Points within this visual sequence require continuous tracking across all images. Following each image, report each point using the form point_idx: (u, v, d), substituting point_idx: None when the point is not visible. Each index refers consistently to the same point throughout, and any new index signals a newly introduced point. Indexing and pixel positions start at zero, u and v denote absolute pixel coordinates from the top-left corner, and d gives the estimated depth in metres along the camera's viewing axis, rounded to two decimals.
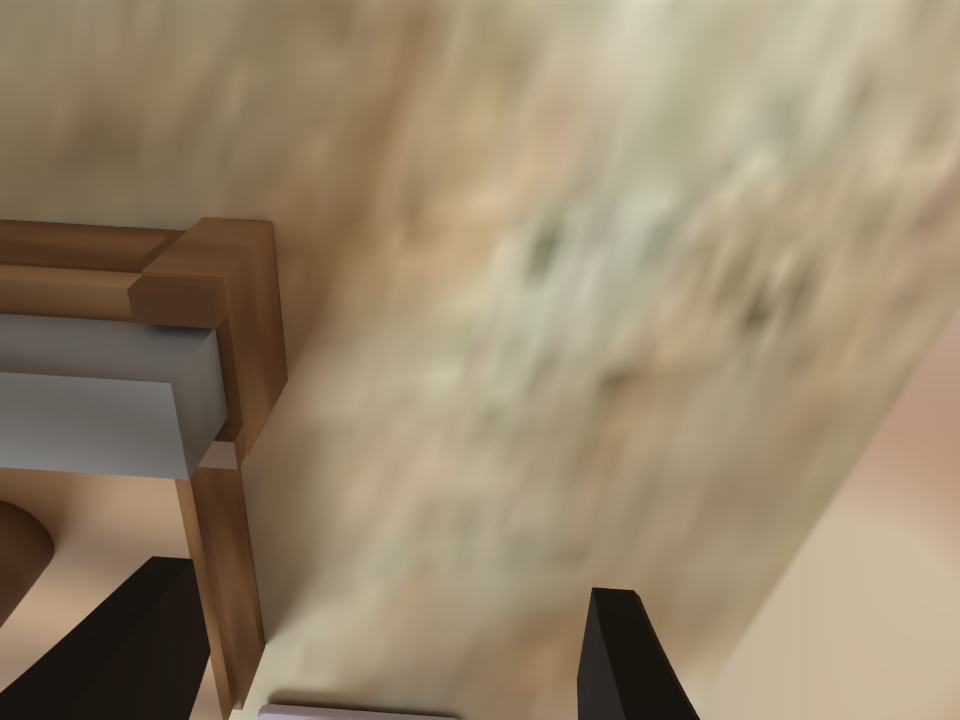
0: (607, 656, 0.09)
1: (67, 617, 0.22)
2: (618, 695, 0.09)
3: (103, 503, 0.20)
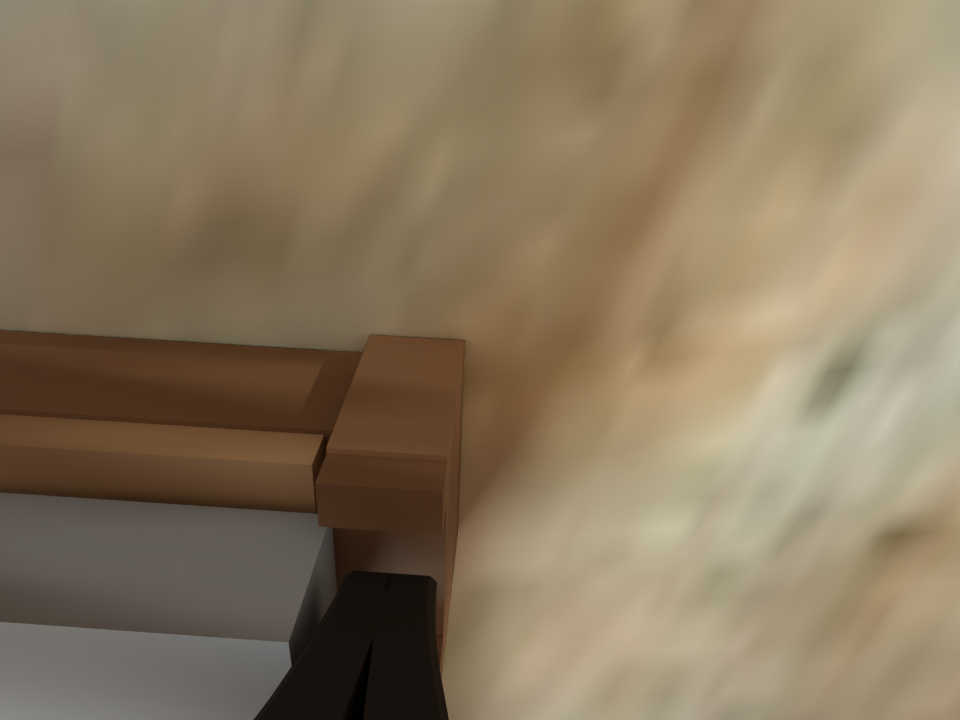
0: (373, 639, 0.09)
1: None
2: (368, 676, 0.09)
3: None
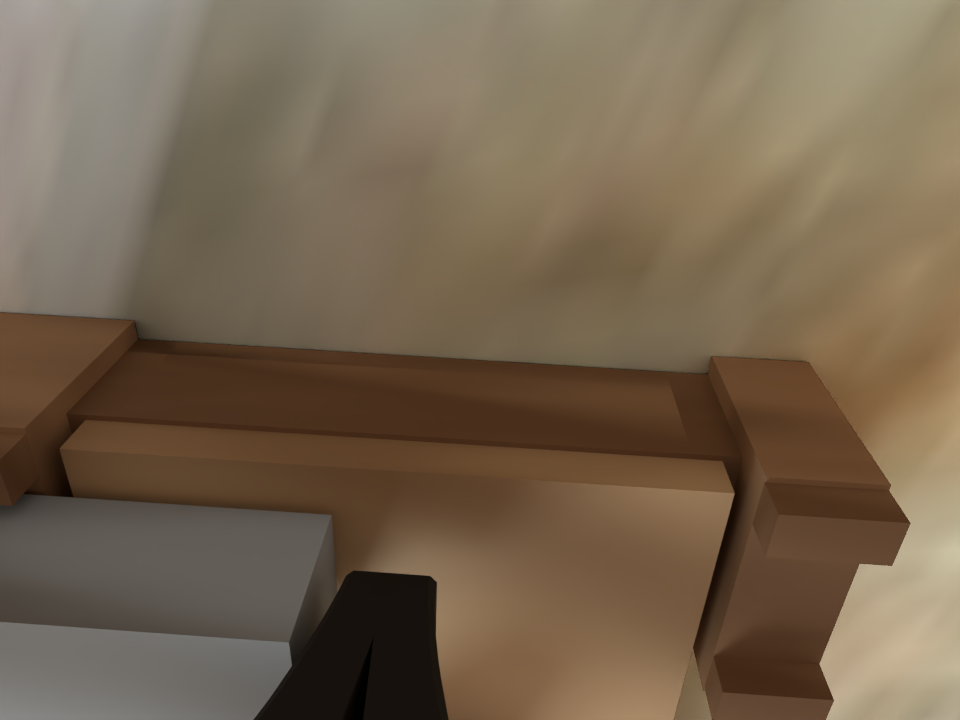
0: (372, 639, 0.09)
1: None
2: (368, 676, 0.09)
3: None
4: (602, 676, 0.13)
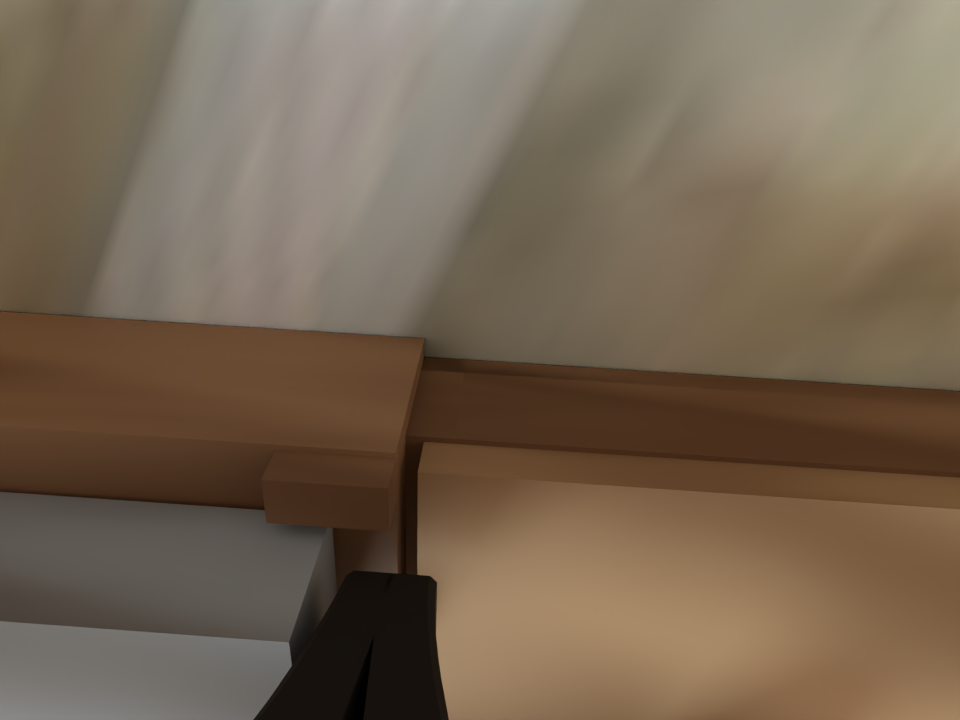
0: (373, 639, 0.09)
1: None
2: (368, 676, 0.09)
3: None
4: (912, 699, 0.13)
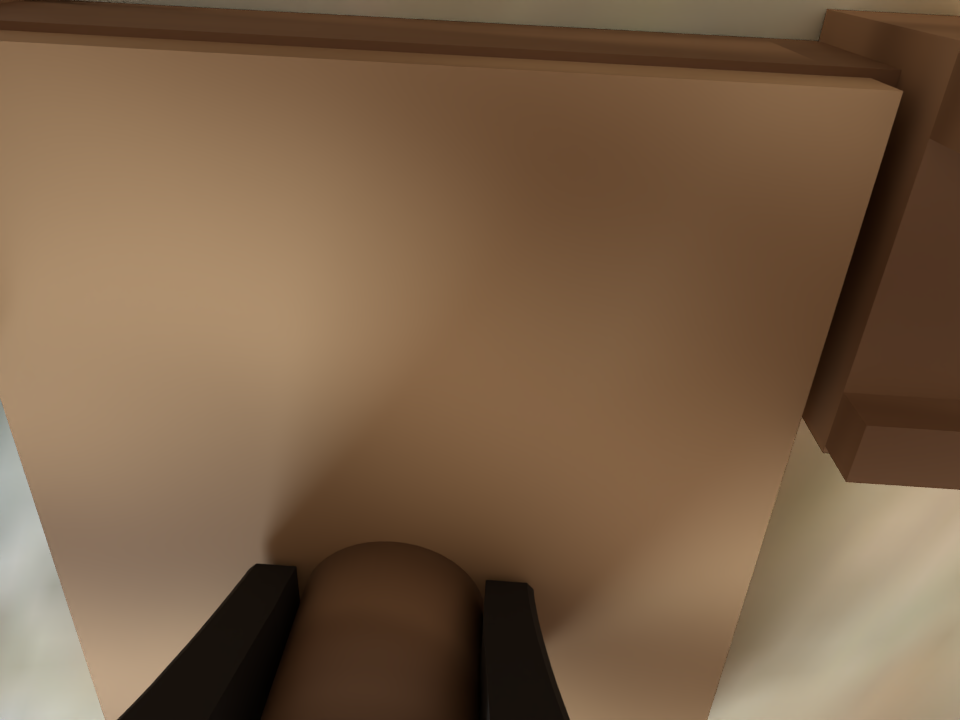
0: (484, 647, 0.09)
1: None
2: (487, 685, 0.09)
3: (612, 551, 0.11)
4: (678, 439, 0.10)
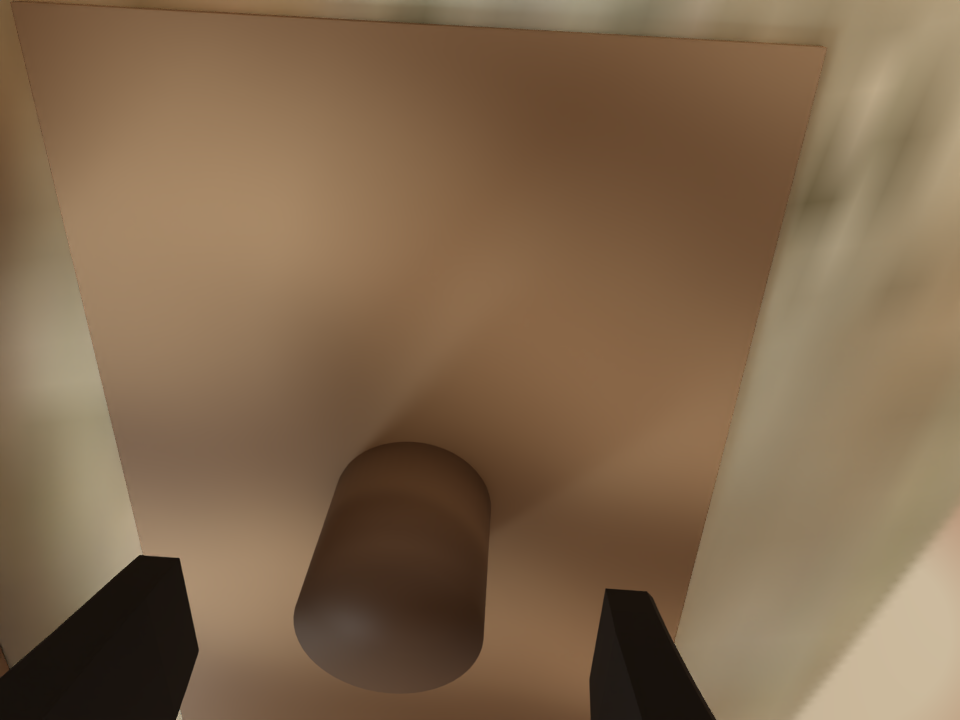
0: (622, 657, 0.09)
1: None
2: (634, 696, 0.09)
3: (599, 449, 0.13)
4: (653, 346, 0.12)
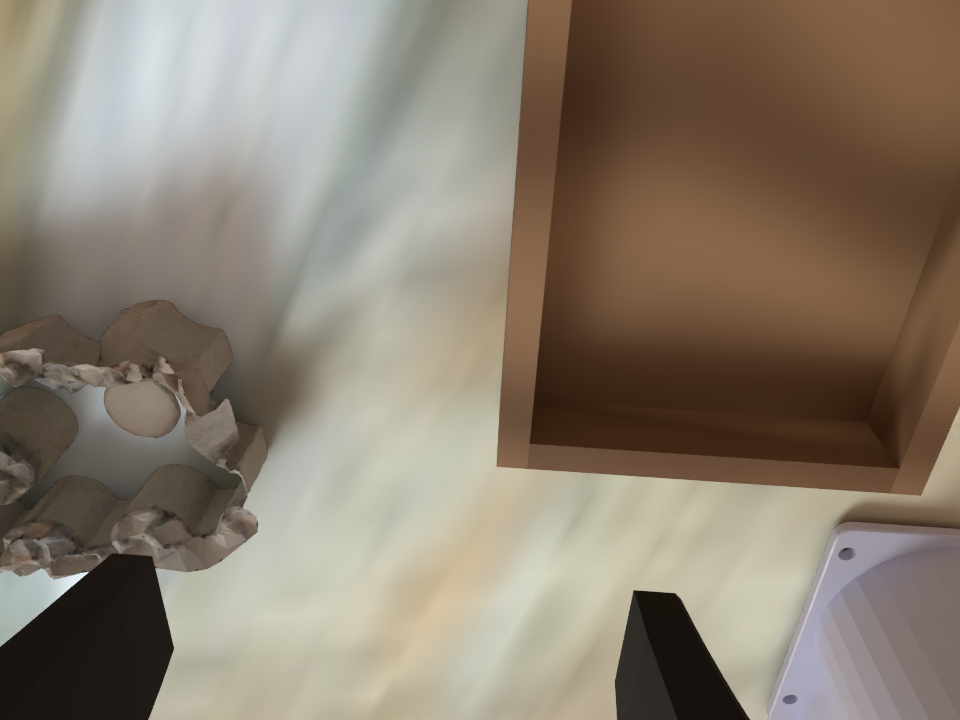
0: (655, 659, 0.09)
1: None
2: (669, 699, 0.09)
3: None
4: None
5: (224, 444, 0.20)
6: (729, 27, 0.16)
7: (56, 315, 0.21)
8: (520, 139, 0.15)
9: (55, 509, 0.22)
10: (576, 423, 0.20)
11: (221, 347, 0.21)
